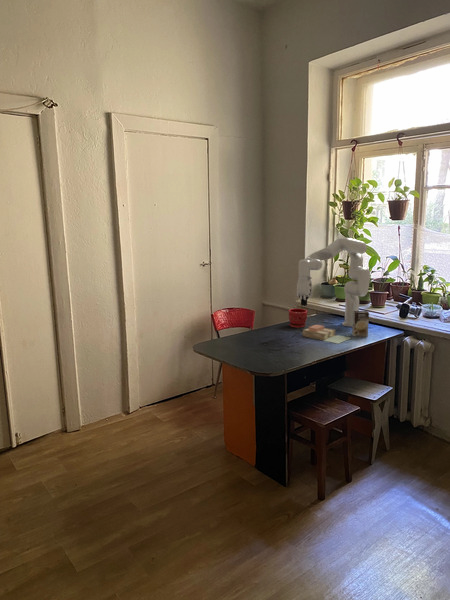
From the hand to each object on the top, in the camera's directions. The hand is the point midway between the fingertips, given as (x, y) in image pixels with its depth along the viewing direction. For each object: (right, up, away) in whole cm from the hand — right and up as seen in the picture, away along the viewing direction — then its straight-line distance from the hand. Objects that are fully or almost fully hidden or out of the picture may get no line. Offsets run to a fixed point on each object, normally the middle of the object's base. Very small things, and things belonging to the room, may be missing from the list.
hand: (303, 305), depth 298 cm
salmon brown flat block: (+8, -16, -4) cm, 18 cm away
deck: (+9, -20, -5) cm, 23 cm away
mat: (+19, -22, -14) cm, 32 cm away
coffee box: (+36, -20, -6) cm, 41 cm away
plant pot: (-1, -16, +21) cm, 26 cm away
